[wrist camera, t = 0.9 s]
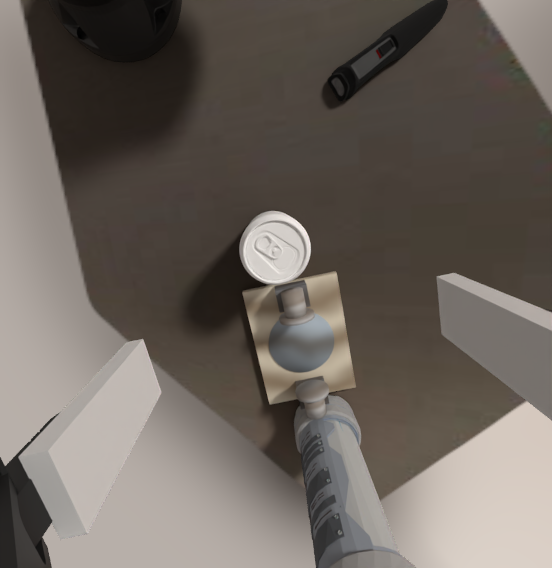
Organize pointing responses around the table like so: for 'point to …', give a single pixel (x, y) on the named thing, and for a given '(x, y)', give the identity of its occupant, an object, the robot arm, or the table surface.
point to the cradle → (301, 341)
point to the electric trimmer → (386, 49)
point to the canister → (342, 493)
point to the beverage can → (274, 248)
